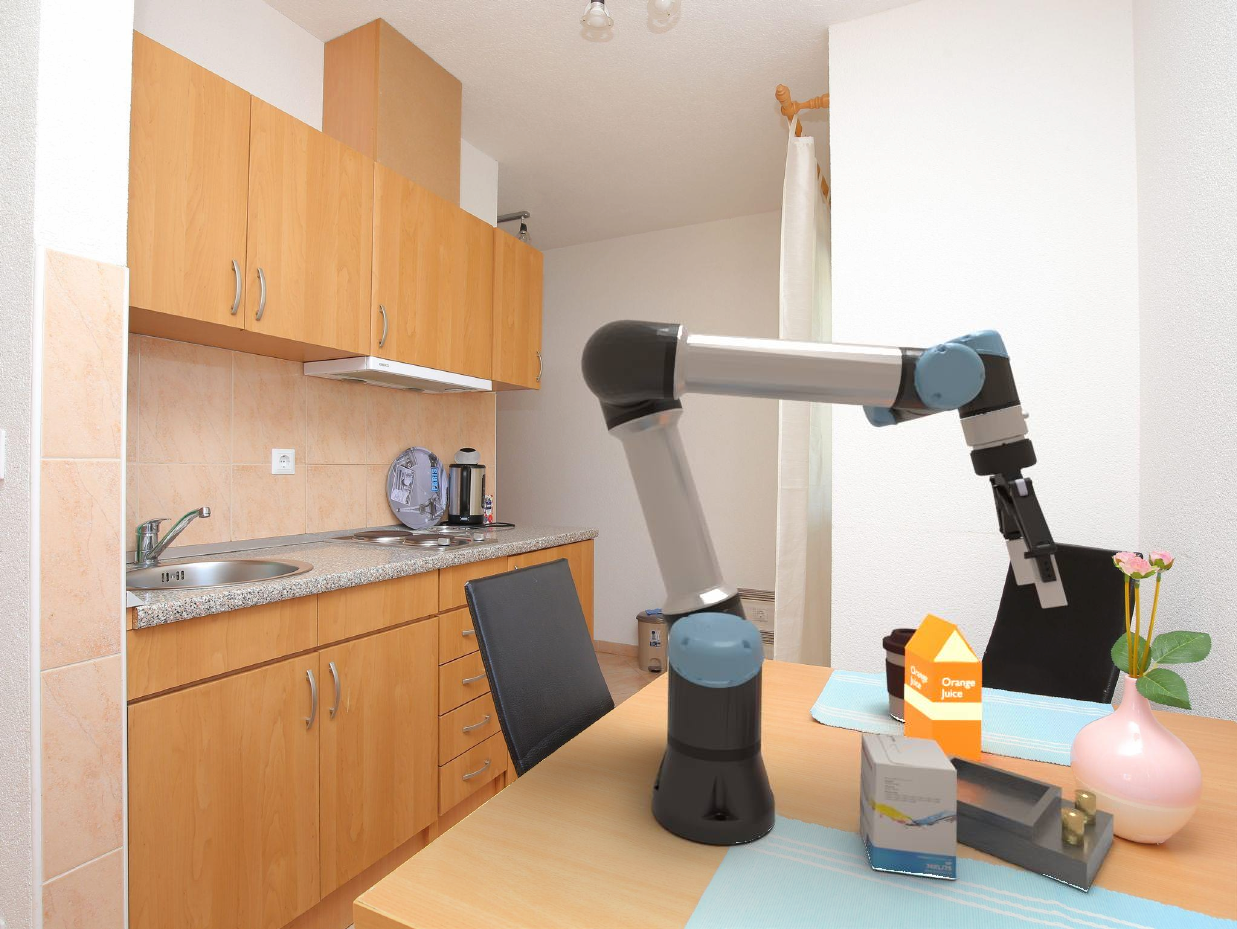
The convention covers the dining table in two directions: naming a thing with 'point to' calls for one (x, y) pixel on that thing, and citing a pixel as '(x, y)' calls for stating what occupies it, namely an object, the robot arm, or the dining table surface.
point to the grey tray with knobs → (1030, 822)
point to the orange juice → (943, 689)
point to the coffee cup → (896, 668)
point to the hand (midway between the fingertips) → (1040, 594)
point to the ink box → (908, 805)
